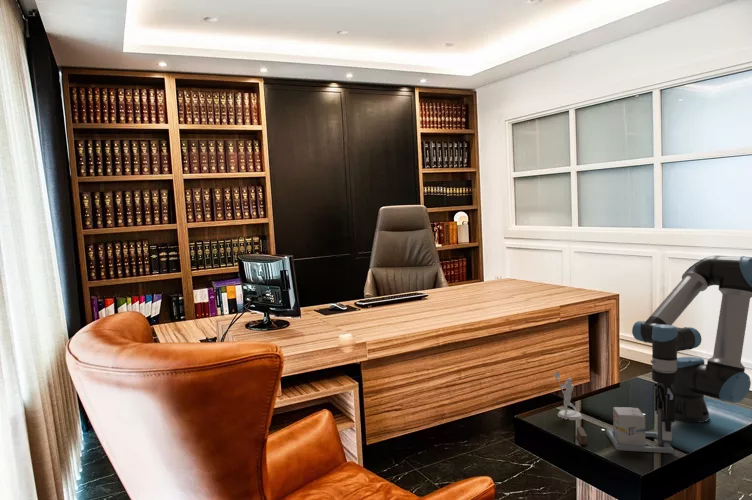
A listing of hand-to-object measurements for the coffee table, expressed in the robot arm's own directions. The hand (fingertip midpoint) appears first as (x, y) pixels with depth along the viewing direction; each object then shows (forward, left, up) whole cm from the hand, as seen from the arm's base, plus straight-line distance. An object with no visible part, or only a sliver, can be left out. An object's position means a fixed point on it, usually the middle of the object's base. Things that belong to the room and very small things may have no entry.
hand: (664, 436), depth 178 cm
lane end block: (+27, 0, -3) cm, 27 cm away
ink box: (+12, +1, -3) cm, 12 cm away
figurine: (+27, -24, -3) cm, 36 cm away
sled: (+8, 0, -3) cm, 8 cm away
